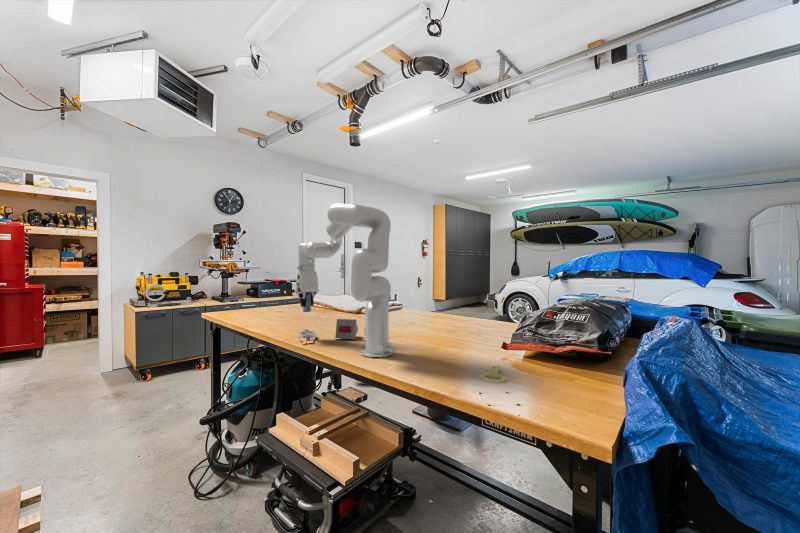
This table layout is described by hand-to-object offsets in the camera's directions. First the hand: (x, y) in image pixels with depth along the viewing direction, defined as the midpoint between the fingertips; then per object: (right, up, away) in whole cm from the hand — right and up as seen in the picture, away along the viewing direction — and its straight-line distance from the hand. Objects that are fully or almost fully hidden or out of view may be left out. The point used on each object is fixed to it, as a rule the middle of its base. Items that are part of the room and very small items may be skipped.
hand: (307, 305), depth 152 cm
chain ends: (0, -16, +2) cm, 16 cm away
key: (+76, -17, -51) cm, 93 cm away
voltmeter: (+27, -16, +2) cm, 31 cm away
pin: (0, -3, 0) cm, 3 cm away
